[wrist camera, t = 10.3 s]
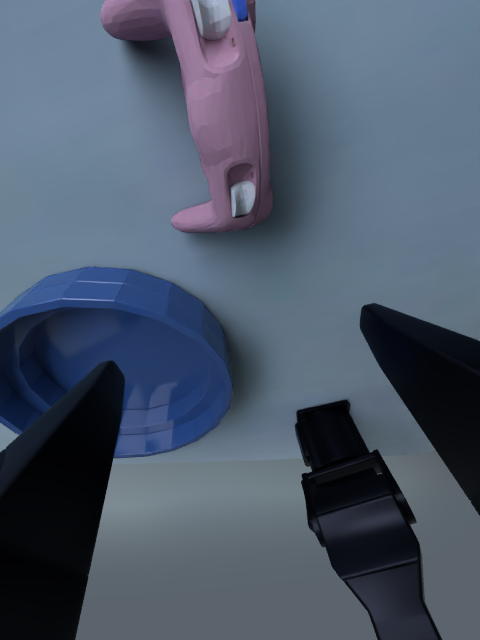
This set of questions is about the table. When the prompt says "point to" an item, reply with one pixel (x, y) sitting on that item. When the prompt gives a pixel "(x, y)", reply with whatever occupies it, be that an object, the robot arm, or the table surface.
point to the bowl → (117, 355)
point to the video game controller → (213, 100)
